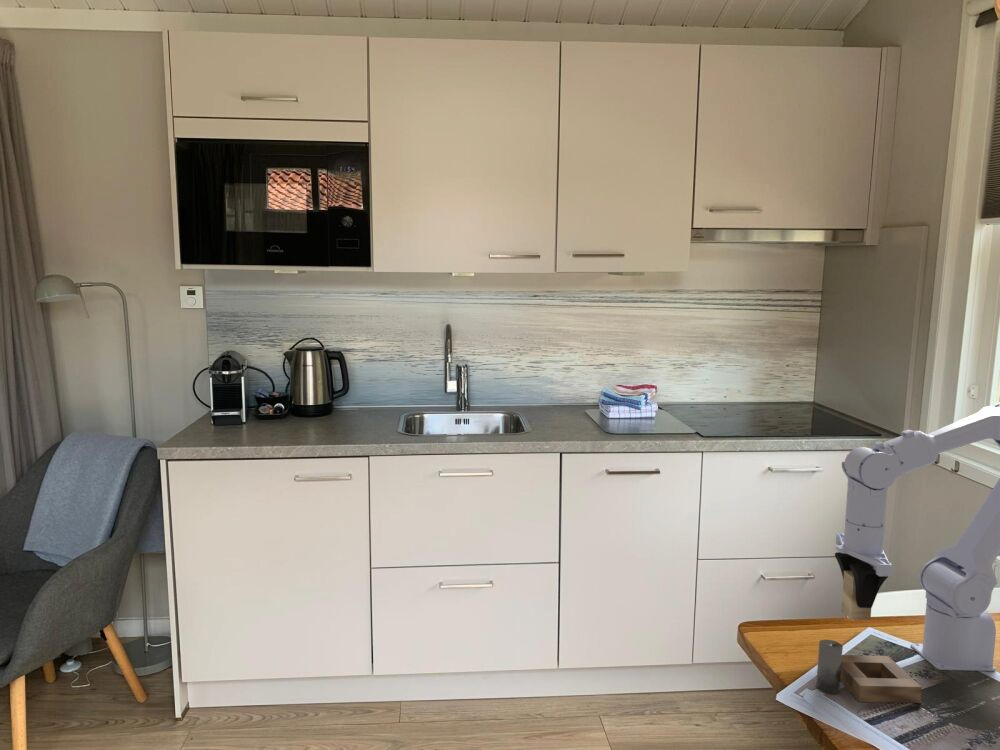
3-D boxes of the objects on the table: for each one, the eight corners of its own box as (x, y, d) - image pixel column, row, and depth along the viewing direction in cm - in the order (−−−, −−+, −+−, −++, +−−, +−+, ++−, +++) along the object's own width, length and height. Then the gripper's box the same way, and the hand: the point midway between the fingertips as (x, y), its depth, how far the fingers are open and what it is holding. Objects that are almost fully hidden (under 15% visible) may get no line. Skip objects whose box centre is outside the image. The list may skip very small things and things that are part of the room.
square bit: (860, 610, 117) (863, 570, 116) (870, 619, 114) (873, 578, 113) (841, 610, 117) (844, 570, 116) (850, 619, 114) (853, 578, 113)
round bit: (833, 682, 108) (836, 639, 107) (843, 694, 105) (846, 650, 104) (812, 682, 108) (815, 639, 107) (821, 694, 105) (825, 649, 104)
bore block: (886, 670, 112) (888, 655, 111) (920, 703, 103) (921, 686, 102) (830, 669, 112) (831, 654, 111) (859, 701, 103) (860, 685, 102)
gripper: (820, 508, 121) (815, 583, 122) (862, 536, 106) (855, 621, 108) (861, 509, 121) (856, 584, 122) (908, 537, 106) (901, 622, 108)
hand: (858, 601), depth 115 cm, fingers closed on square bit, 3 cm apart
